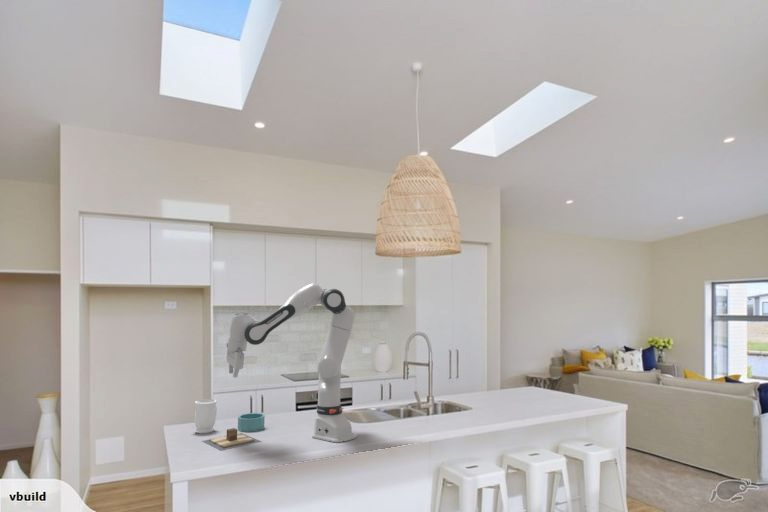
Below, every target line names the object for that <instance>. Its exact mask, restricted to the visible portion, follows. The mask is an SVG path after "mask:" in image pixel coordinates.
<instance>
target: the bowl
mask: <svg viewBox="0 0 768 512" xmlns="http://www.w3.org/2000/svg"><path fill="white" fill-rule="evenodd" d="M263 429H265V414H263V413H262V412H261V413H260V412H259V413H258V412H251V413H243V414H240V415H238V417H237V431H240V432H244V433H245V432H246V433H249V432H258V431H261V430H263Z"/></svg>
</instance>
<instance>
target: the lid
mask: <svg viewBox="0 0 768 512" xmlns="http://www.w3.org/2000/svg"><path fill="white" fill-rule="evenodd" d="M240 433H241V432H240ZM240 433H238V428H234V427H233V428H228V429H226V435H224V436H218V437H214V438H209V439H208V440H209V441H210V442H212V443H214V444H216V445H218V446H220V447H222V448H227V447H232V446H236V445H241V444H245V443H250V442H254V439H251V438H249V437H247V436H248V435H247V436H244V435H242V434H240Z"/></svg>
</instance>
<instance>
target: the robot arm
mask: <svg viewBox="0 0 768 512" xmlns="http://www.w3.org/2000/svg"><path fill="white" fill-rule="evenodd" d="M316 305H321V306H323V308H324V309H326V310H328V311H330V312H331V313H332V318H331V322H330V325H329V328H328V331H327V334H326V338H325V340H324V344H323V347H322V349H321V353H320V355H319V359H318V362H317V366H316V367H317V373H318V383H317V384H318V385H317V405H316V414H317V415H316V417H315V420H314V430H313V434H312V435H311V436H312V439H316V440H321V441H325V442H326V441H327V442H330V441H331V443H343V441H344V442H347V441H351V440H354V439H356V438H357V437H358V435H357V434H356V433H354V432H352V431H353V430H352V424H351V422H350V421H349V420H348V419H347V418H346V416H345V415H344V413H343V410H344V407H342V404H341V377H342V375H341V374H342V363H343V359H344V357H345V353H346V349H347V347H348V344H349V340H350V336H351V333H352V329H353V325H354V321H355V311H354V310H353V308H352V307H350V306H347V304H346V300H345V295H344V294H343V292H341V290H340V289H337V288H333V287H332V288H327V289H326V288H325V289H323V288H322V287H321V286H320V285H319V284H318V283H315V282H312V283H311V282H310V283H309V284H306V285H304V286H303V287H301V288H299V289H298V290H296V291H295V292H293V293H292V294H291V295H289V297H288V298H286V300H285V301H284V302H283V303H282V305H281V306H280V307H279V308H278V309H277V310H276V311H275V312H273V313H272V314H270V315H269V316H267V317H266V318H264V319H263V320H262V321H260V320H259V319H256V318H255V317H253V316H251V315H250V313H248V312H245V313H244V312H242V313H241V312H240V313H237V314H234V315H233V317H232V319H231V322H230V327H229V337H228V340H227V343H226V349H227V350H226V363H228V373H229V374H232V377H233V378H235V379H236V378H238V375H239V372H240V370H243V368H244V363H245V353H244V352H246V351H247V346H248V343H249V344H250V345H253V346H256V345H260V344H262V343H263V342H264V341H265V340H266V339H267V337H268V335H269V334H270V333H271V332H272V331H273V330H275V329H276V328H278V327H279V326H281V324H283V323H285V322H287V321H289V320H291V319H294V318H297V317H299V316H300V315H301V316H302V315H303V314H304V313H306V312H307V311H309V310H310V309H312V308H313V307H315V306H316Z"/></svg>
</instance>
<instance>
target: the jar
mask: <svg viewBox="0 0 768 512" xmlns="http://www.w3.org/2000/svg"><path fill="white" fill-rule="evenodd" d="M217 402H218V401H217V399H213V398H212V399H211V398H209V399H208V398H207V399H199V400H195V401H194V405H195V408H194V423H195V428H196V431H195V433H197V434H207V433H211V432H214V430H215V429H214V426H215V425H216V424H215V423H216V418H217V414H218V413H217V405H216V404H217Z"/></svg>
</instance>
